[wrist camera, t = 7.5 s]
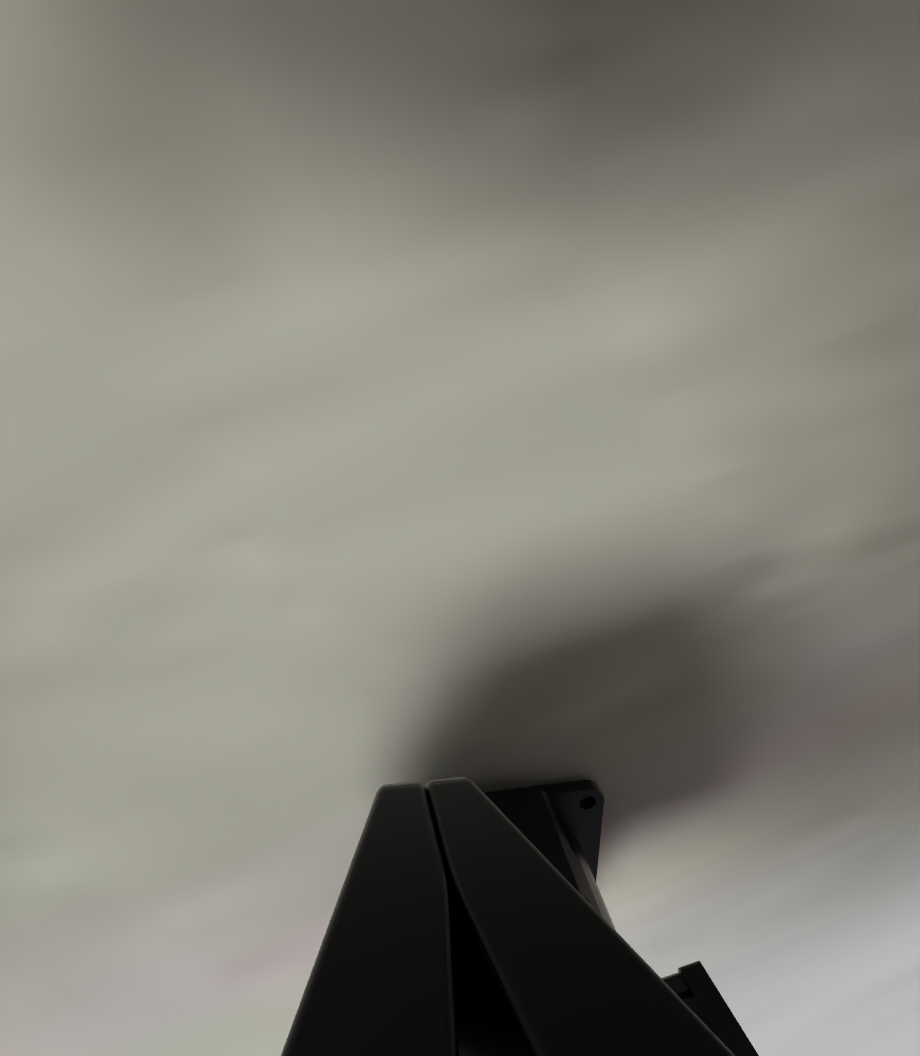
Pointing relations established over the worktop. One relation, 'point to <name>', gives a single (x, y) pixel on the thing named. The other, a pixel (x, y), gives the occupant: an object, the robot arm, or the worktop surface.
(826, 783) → the worktop surface
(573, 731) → the worktop surface
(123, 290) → the worktop surface
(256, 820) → the worktop surface
